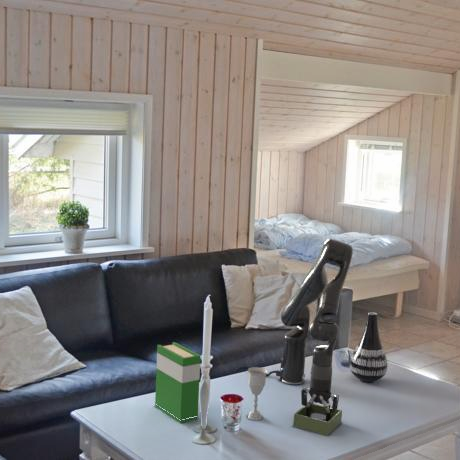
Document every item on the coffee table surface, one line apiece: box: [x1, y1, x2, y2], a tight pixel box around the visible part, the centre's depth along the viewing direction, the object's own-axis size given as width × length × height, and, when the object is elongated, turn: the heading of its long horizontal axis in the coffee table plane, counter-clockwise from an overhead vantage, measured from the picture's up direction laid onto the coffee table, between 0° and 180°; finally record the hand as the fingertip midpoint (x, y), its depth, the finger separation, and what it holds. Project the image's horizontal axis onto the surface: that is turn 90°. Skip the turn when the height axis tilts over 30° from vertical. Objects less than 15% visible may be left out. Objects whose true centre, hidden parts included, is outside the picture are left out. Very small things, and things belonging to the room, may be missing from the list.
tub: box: [292, 403, 343, 436], centre depth 283 cm, size 13×13×5 cm
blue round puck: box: [310, 413, 326, 421], centre depth 284 cm, size 6×6×2 cm
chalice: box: [247, 366, 268, 421], centre depth 286 cm, size 7×7×18 cm
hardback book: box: [154, 341, 202, 424], centre depth 286 cm, size 18×7×24 cm, turn 37°
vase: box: [349, 311, 389, 384], centre depth 331 cm, size 16×16×30 cm
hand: (318, 419), depth 283 cm, fingers closed on blue round puck, 6 cm apart
